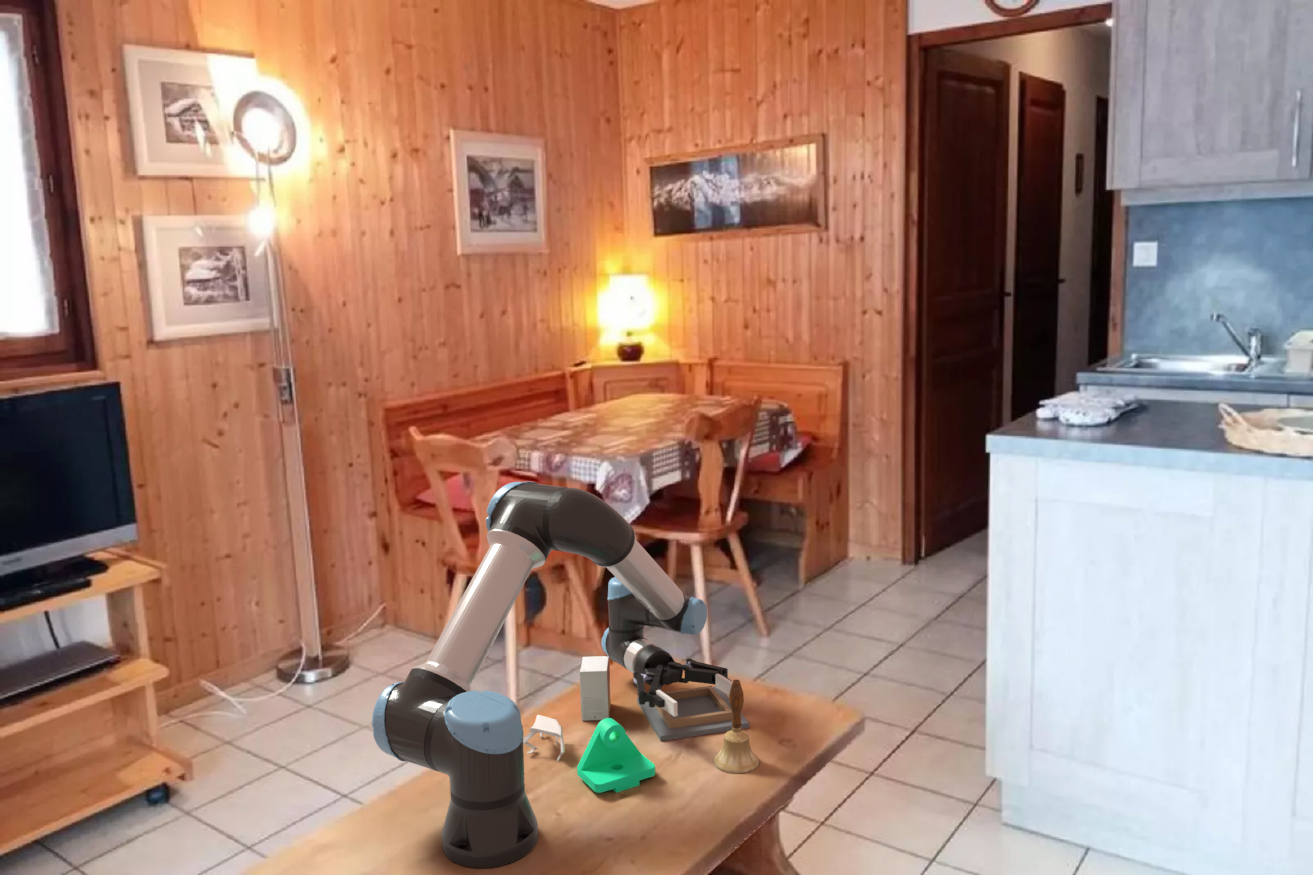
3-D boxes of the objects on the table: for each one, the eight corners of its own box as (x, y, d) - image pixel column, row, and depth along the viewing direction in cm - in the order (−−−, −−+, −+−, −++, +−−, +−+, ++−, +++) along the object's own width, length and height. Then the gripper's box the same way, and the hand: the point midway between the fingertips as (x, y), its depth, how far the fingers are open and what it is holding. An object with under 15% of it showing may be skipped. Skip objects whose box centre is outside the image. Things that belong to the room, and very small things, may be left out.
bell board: (660, 741, 197) (660, 729, 197) (636, 702, 214) (636, 690, 214) (749, 727, 202) (749, 715, 201) (719, 690, 219) (719, 679, 218)
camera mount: (597, 799, 177) (595, 744, 175) (577, 780, 184) (575, 726, 182) (657, 780, 183) (656, 726, 181) (636, 762, 190) (635, 710, 188)
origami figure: (510, 749, 196) (509, 724, 195) (544, 733, 201) (543, 709, 201) (552, 770, 187) (551, 744, 186) (586, 753, 193) (585, 728, 192)
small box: (609, 721, 206) (607, 671, 204) (580, 721, 206) (579, 671, 204) (611, 703, 214) (609, 655, 212) (584, 703, 214) (582, 655, 212)
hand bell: (768, 764, 187) (768, 682, 185) (732, 778, 183) (732, 694, 180) (740, 747, 194) (739, 667, 191) (704, 760, 190) (703, 678, 187)
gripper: (700, 666, 220) (759, 703, 202) (596, 694, 208) (649, 736, 190) (700, 633, 219) (759, 667, 201) (595, 659, 207) (648, 697, 189)
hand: (706, 700), depth 195 cm, fingers open, 13 cm apart
